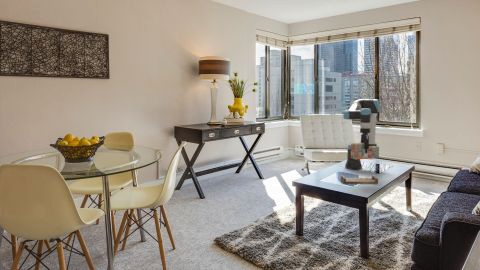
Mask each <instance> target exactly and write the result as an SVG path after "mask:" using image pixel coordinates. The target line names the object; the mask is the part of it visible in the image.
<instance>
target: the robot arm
mask: <svg viewBox="0 0 480 270" xmlns="http://www.w3.org/2000/svg"><path fill="white" fill-rule="evenodd" d="M380 111H381V110H380V101H379V99H375V98H365V99H364V98H361V99H357V100H355V101H353V102H351V104H350V105H349V109H347V110H344V111H343V114H342V118H343V119H344V120H354V121H355V120H358V121H359V120H360V122H359V126H360V129H359V133H361V134H360V143H364V157H368V149H369V146H377V147H379V146H378V143H377V142H376V128H377V127H376V123H377V116H378V114H379V113H380ZM346 153H347V160H346V162H345V165H344V168H346V169H348V170H361V169H363V165H362V162H361V159H352V158H351V143H349V144H348V145H347V152H346Z"/></svg>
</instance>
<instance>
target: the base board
mask: <svg viewBox="0 0 480 270" xmlns="http://www.w3.org/2000/svg"><path fill="white" fill-rule="evenodd" d="M340 181H342V183H343V184H357V185H358V184H364V185H365V184H369V185H370V184H371V185H372V184H373V185H374V184H375V185H378V184H379V178H378V177H376V176H375V174H371V177H345V175H344V174H340Z"/></svg>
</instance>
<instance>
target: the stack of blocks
mask: <svg viewBox="0 0 480 270" xmlns="http://www.w3.org/2000/svg"><path fill="white" fill-rule="evenodd" d="M350 144H351V158H352V159H360V160H370V159H379V157H380V146H378V145H377V146H378V147H377V146H369V149H368V157H364V143H361V142H353V143H350Z"/></svg>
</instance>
